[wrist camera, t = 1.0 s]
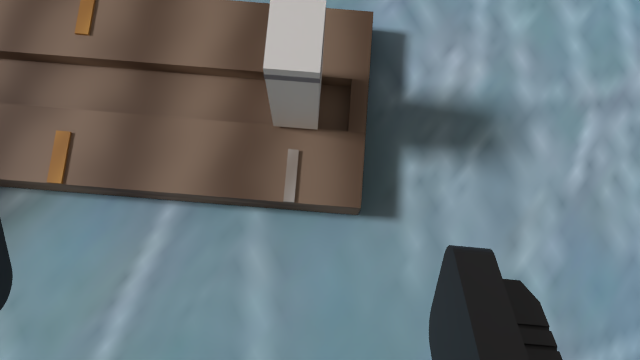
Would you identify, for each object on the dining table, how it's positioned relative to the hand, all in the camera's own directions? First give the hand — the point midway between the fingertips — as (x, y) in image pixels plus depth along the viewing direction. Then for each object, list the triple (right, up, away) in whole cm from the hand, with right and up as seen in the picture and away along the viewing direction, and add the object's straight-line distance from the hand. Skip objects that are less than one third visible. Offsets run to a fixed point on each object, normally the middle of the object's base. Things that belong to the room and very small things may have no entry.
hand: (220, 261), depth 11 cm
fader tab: (+1, +6, +25) cm, 26 cm away
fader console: (-8, +6, +26) cm, 28 cm away
